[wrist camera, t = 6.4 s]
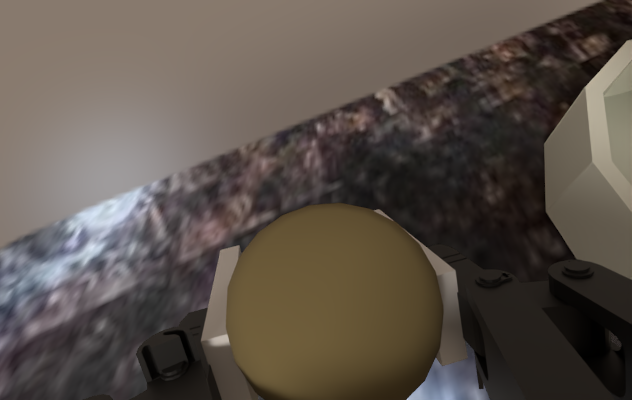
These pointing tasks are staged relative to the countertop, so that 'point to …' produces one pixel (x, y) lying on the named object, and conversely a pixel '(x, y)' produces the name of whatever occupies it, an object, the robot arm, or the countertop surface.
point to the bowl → (595, 169)
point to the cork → (334, 307)
